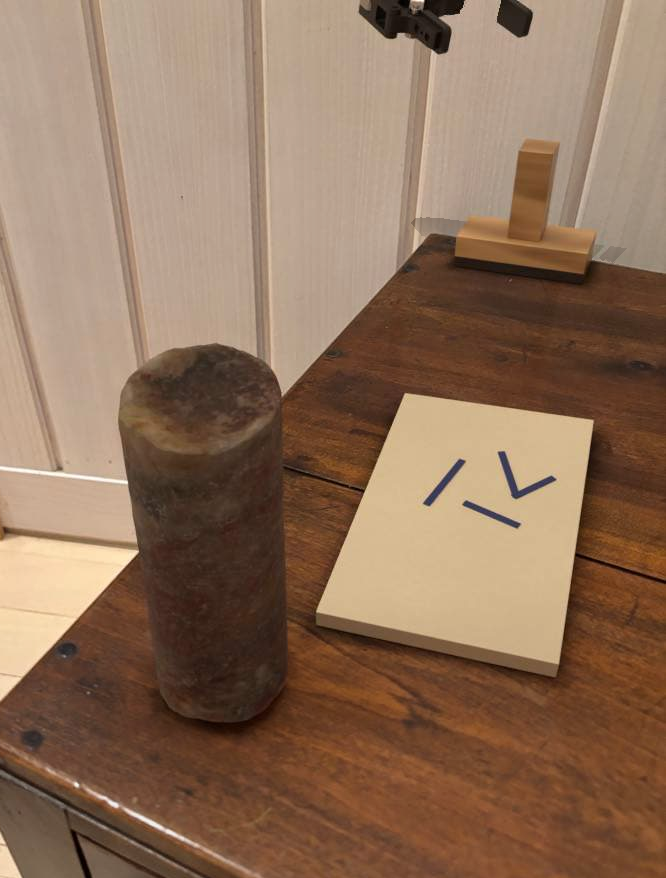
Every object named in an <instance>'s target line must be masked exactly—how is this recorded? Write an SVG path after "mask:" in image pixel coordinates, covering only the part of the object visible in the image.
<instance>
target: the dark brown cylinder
mask: <svg viewBox="0 0 666 878" xmlns="http://www.w3.org/2000/svg"><path fill="white" fill-rule="evenodd" d="M282 394H283V393H282V390H281V386H280V383H279V380H278V377H277V374H276V373H275V371H274V370H273V369H272V368H271V366H270V365H269V364H268V363H267V362H266V361H264V360H263V359H262V358H259V357H257V356H254V355H253V354H251V353H249V352H247V351H245V350H242V349H238V348H235V347H234V346H230V345H225V344H221V343H218V342H214V343H209V344H197V345H193V346H186V347H173V348H171V349H167V350H164V351H163V352H161V353H159V354H157V355H155V356H154V357H151V358H149V359H147V361H146V362H144V363H142V365H141V366H140V367H139V368H138V369H136V370H134V372H133V373H131V374H130V376H128V378H127V380H126V382H125V384H124V386H123V388H122V389H121V392H120V394H119V407H118V413H117V415H118V417H117V425H118V431H119V436H120V442H121V448H122V449H121V450H122V453H123V454H122V456H123V461H124V468H125V469H124V470H125V475H126V481H127V489H128V494H129V498H130V505H131V512H132V513H131V515H132V520H133V526H134V531H135V537H136V542H137V543H136V544H137V550H138V555H139V562H140V563H139V564H140V569H141V575H142V581H143V588H144V595H145V602H146V603H145V604H146V609H147V616H148V622H149V623H148V624H149V631H150V638H151V645H152V652H153V657H154V665H155V671H156V677H157V683H158V688H159V692H160V695H161V698H162V699H163V700H164V701H165V703H166V705H167V706H168V708H170V709H171V710H172V711H173V712H175V713H178V714H179V715H180V716H182V717H185V718H188V719H193V720H195V719H196V720H203V721H207V722H214V723H227V724H228V723H229V724H230V723H240V722H245V721H248V720H251V719H252V718H253V717H255V716H258V715H260V714H261V713H263V712H264V711H265V710H267V709H268V707H269V706H270V705H271V703H273V702H274V700H275V699H276V697H278V695H279V694H280V693H281V691H282V689H283V688H284V686H285V685H286V682H287V678H288V674H289V667H288V666H289V663H288V661H289V659H288V656H289V654H288V653H289V649H288V648H289V647H288V646H289V645H288V643H289V642H288V640H289V639H288V636H289V634H288V632H289V631H288V607H287V606H288V604H287V603H288V602H287V568H286V567H287V566H286V546H285V545H286V542H285V541H286V540H285V539H286V538H285V519H284V516H285V515H284V514H285V513H284V512H285V507H284V504H285V503H284V502H285V501H284V496H285V495H284V494H285V493H284V492H285V491H284V489H285V488H284V487H285V482H284V481H285V480H284V445H283V444H284V443H283V429H284V427H283V395H282Z"/></svg>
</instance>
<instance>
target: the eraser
mask: <svg viewBox="0 0 666 878" xmlns="http://www.w3.org/2000/svg"><path fill="white" fill-rule="evenodd" d="M560 145H561V142H560V141H555V140H544V139H533V138H525V139H524V141H523V143H522V144H521V146H520V147H519V149H518V151H517V159H516V167H515V175H514V181H513V189H512V191H513V192H512V197H511V204H510V210H509V211H510V213H509V219H504V218H497V217H487V216H482V215H473V214H470V215H469V216H468V218H467V219H466V221H465V223H464V224H463V226H462V227H461V229H460V230H459V231H458V233H457V235H456V238H455V249H454V258H453V259H454V260H453V266H454V267H460V268H464V269H465V268H466V269H473V270H478V271H479V270H480V271H487V272H493V273H494V272H495V273H500V274H509V275H514V276H521V277H528V278H535V279H543V280H548V281H556V282H563V283H569V284H576V285H583V282H584V280H585V277H586V275H587V272H588V270H589V267H590V265H591V262H592V259H593V253H594V249H595V243H596V239H597V234H598V231H597V230H593V229H585V228H584V229H583V228H577V227H569V226H562V225H561V226H560V225H553V224H552V225H551V224H548V218H549V214H550V206H551V201H552V194H553V187H554V182H555V177H556V176H555V175H556V170H557V163H558V156H559V152H560V151H559V150H560Z"/></svg>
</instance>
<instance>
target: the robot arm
mask: <svg viewBox="0 0 666 878" xmlns="http://www.w3.org/2000/svg"><path fill="white" fill-rule="evenodd" d="M464 1H465V0H359V4H358V14H359V15H360V16H361V17H362V18H363V19H364V20H365V21H366V22H368V23H369V25H371V26H372V27H373V28H374V29H375V30H376V31H377V32H378V33H379V34H380V35H382V36H383V38H385V39H388V40H395V39H397V38H398V34H404V37H405V38H407V39H411V40H415V39H416V40H417V41H418V42H419V43H421V44H423V45H424V46H425V47H426V48H428V49H431V50H432V51H433V52H434V53H435V54H437V55H444V54H448V52H449V50H450V49H449V48H450V43H451V39H452V34H453V32H452V28H451V26H450V25H449V24H448V23H446V22H445V20H444V21H443V20H442V19H441V18H442V17H445V16H444V15H447V16H451V15H455V14H460V10H461V9H462V8H463V5H464ZM465 2H466V1H465ZM464 6H465V5H464ZM533 18H534V11H533V10H532V9H530V7H527V6H526V5H525V4H523V3H522V2H520V1H517V0H501V4H500V8H499V12H498V16H497V22H496V23H497V24H499V26H501V27H502V28H503V29H505V30H507V31H508V32H509V33H510V34H512V35H514V36H515V37H516V38H518V39H520V38H525V37H527V36H528V35H529V34H530V30H531V25H532V21H533Z"/></svg>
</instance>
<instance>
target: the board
mask: <svg viewBox="0 0 666 878" xmlns="http://www.w3.org/2000/svg"><path fill="white" fill-rule="evenodd" d="M594 422H595V420H594V419H588V418H581V417H576V416H575V417H574V416H569V415H560V414H553V413H548V412H547V413H546V412H539V411H532V410H527V409H519V408H512V407H506V406H505V407H504V406H498V405H491V404H484V403H477V402H470V401H464V400H457V399H449V398H442V397H436V396H429V395H421V394H414V393H407V392H405V393H404V394H403V397H402V399H401V402H400V405H399V407H398V409H397V412H396V414H395V416H394V419H393V422H392V425H391V426H390V429H389V432H388V433H387V436H386V439H385V441H384V444H383V445H382V449H381V451H380V454H379V456H378V458H377V461H376V463H375V465H374V468H373V470H372V472H371V475H370V478H369V480H368V483H367V484H366V485H367V486H366V488H365V490H364V493H363V495H362V498H361V500H360V503H359V505H358V507H357V510H356V512H355V515H354V517H353V520H352V522H351V525H350V527H349V529H348V532H347V535H346V537H345V539H344V542H343V544H342V547H341V549H340V551H339V555H338V556H337V559H336V561H335V563H334V566H333V569H332V571H331V573H330V576H329V579H328V581H327V584H326V586H325V589H324V591H323V594H322V595H321V598H320V601H319V603H318V606H317V608H316V611H315V625H316V626H318V627H323V628H328V629H333V630H337V631H341V632H347V633H351V634H355V635H359V636H365V637H368V638H372V639H373V638H374V639H378V640H383V641H387V642H392V643H397V644H400V645H405V646H410V647H414V648H419V649H423V650H428V651H433V652H437V653H441V654H446V655H450V656H456V657H460V658H465V659H468V660H473V661H478V662H483V663H488V664H492V665H497V666H500V667H505V668H510V669H514V670H519V671H524V672H528V673H532V674H537V675H542V676H546V677H551V678H556V677H557V674H558V670H559V666H560V662H561V661H560V660H561V654H562V647H563V640H564V632H565V625H566V619H567V611H568V605H569V598H570V591H571V583H572V578H573V569H574V563H575V556H576V550H577V549H576V548H577V541H578V536H579V535H578V534H579V529H580V521H581V513H582V507H583V501H584V493H585V488H586V487H585V485H586V481H587V480H586V479H587V472H588V467H589V466H588V465H589V459H590V452H591V451H590V450H591V443H592V437H593V430H594Z"/></svg>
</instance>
